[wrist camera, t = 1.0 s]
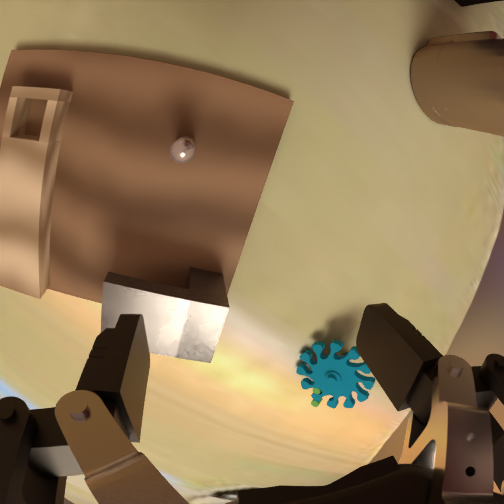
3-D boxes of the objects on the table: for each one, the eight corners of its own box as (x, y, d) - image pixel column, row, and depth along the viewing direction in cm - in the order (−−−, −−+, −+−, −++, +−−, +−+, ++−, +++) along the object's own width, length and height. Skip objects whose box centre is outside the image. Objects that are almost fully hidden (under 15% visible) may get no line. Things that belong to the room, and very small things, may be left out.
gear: (318, 328, 31) (389, 379, 27) (336, 308, 36) (398, 352, 32) (278, 384, 36) (336, 427, 32) (298, 362, 41) (351, 400, 37)
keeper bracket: (118, 250, 24) (103, 281, 19) (222, 273, 27) (229, 307, 22) (112, 305, 26) (100, 342, 21) (206, 325, 29) (210, 362, 24)
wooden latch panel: (17, 51, 15) (-22, 42, 9) (289, 101, 22) (319, 97, 17) (-7, 264, 23) (-37, 295, 17) (215, 319, 30) (221, 364, 24)
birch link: (27, 87, 16) (12, 86, 14) (73, 91, 18) (60, 89, 15) (11, 273, 22) (0, 285, 20) (49, 285, 24) (40, 298, 22)
